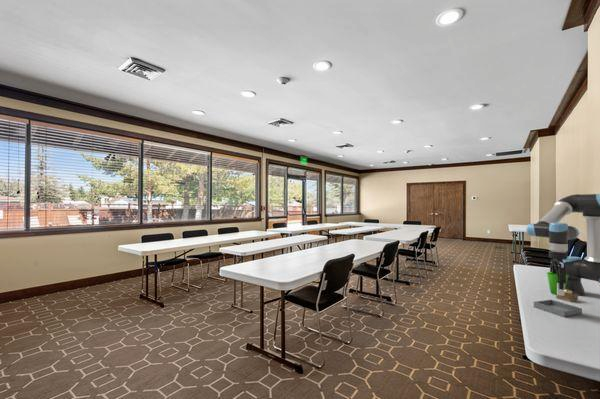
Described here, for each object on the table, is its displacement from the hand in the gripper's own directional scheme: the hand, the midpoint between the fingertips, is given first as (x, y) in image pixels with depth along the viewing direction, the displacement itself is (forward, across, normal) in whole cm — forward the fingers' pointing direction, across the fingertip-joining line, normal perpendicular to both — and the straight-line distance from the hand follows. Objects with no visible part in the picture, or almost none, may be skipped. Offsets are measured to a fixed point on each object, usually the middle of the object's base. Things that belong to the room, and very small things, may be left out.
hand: (557, 292), depth 152 cm
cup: (+1, 0, 0) cm, 1 cm away
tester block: (+10, -27, +12) cm, 31 cm away
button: (+7, -27, +12) cm, 30 cm away
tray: (+10, 0, 0) cm, 10 cm away
